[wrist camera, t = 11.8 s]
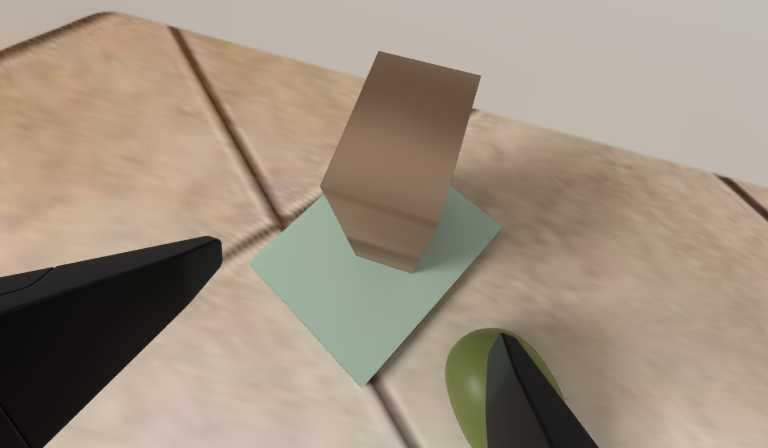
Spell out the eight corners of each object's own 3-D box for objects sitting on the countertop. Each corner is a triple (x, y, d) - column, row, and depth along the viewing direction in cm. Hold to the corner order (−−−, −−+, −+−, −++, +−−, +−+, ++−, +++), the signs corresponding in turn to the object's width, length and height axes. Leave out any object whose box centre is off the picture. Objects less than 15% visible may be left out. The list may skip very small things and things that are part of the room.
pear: (547, 321, 14) (649, 541, 13) (498, 308, 19) (567, 462, 18) (442, 370, 13) (539, 606, 12) (421, 342, 19) (487, 505, 17)
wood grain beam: (411, 273, 19) (439, 222, 9) (355, 255, 20) (320, 186, 9) (435, 195, 21) (480, 75, 11) (383, 180, 22) (378, 51, 11)
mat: (362, 385, 18) (361, 388, 17) (253, 264, 21) (248, 262, 20) (498, 230, 21) (502, 227, 20) (389, 141, 24) (389, 135, 23)
